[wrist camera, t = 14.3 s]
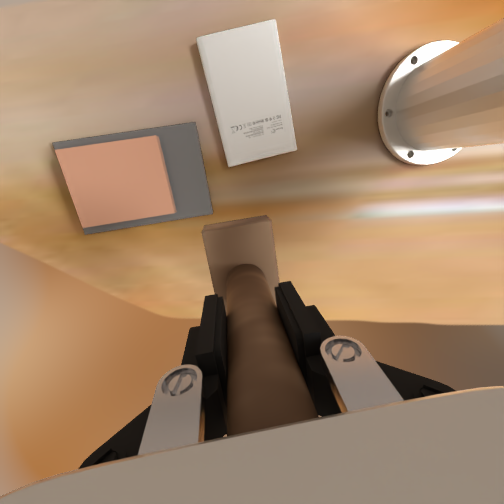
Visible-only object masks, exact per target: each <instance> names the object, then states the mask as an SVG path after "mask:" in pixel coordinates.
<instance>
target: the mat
mask: <svg viewBox="0 0 504 504" xmlns="http://www.w3.org/2000/svg"><path fill="white" fill-rule="evenodd" d="M154 135H156V136H158V137H159V140H160V144H161V148H162V152H163V157H164V161H165V165H166V169H167V173H168V178H169V182H170V186H171V190H172V194H173V199H174V203H175V207H176V211H177V212H176V213H172V214H166V215H160V216H154V217H148V218H142V219H136V220H129V221H123V222H117V223H111V224H105V225H99V226H93V227H86V228H83V230H84V233H85V235H86V234H92V233H98V232H105V231H111V230H117V229H123V228H129V227H135V226H142V225H148V224H154V223H160V222H166V221H172V220H178V219H185V218H191V217H197V216H203V215H209V214H213V209H212V204H211V199H210V194H209V189H208V184H207V179H206V173H205V168H204V163H203V158H202V153H201V148H200V143H199V137H198V132H197V127H196V123H195V122H191V123H185V124H178V125H171V126H164V127H157V128H150V129H143V130H136V131H129V132H122V133H116V134H109V135H102V136H95V137H88V138H81V139H74V140H67V141H60V142H53V143H52V144H53V146H54V149H55V150H57V149H64V148H71V147H78V146H85V145H92V144H99V143H106V142H113V141H120V140H127V139H134V138H141V137H148V136H154Z"/></svg>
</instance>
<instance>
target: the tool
mask: <svg viewBox="0 0 504 504" xmlns="http://www.w3.org/2000/svg"><path fill="white" fill-rule="evenodd" d="M202 237H203V241H204V246H205V251H206V255H207V260H208V264H209V269H210V274H211V278H212V283H213V288H214V292H215V294H218V297H221V296H222V297H223V300H224V305H225V310H226V315H227V436H231V435H236V434H241V433H246V432H251V431H256V430H260V429H265V428H270V427H275V426H280V425H285V424H290V423H295V422H299V421H304V420H309V419H314V418H319V417H318V414H317V411H316V409H315V406H314V403H313V401H312V398H311V396H310V393H309V390H308V388H307V385H306V382H305V380H304V377H303V375H302V372H301V369H300V367H299V365H298V362H297V359H296V357H295V354H294V352H293V349H292V346H291V344H290V341H289V338H288V336H287V333H286V330H285V328H284V325H283V322H282V320H281V317H280V315H279V312H278V309H277V304H276V297H275V287H277V286H278V283H279V276H278V268H277V260H276V252H275V244H274V237H273V229H272V221H271V220H270V219H269V217H268V216H267V215H264V216H258V217H252V218H246V219H240V220H234V221H228V222H222V223H216V224H210V225H204V228H203V230H202Z"/></svg>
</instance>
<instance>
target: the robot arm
mask: <svg viewBox="0 0 504 504" xmlns="http://www.w3.org/2000/svg"><path fill="white" fill-rule="evenodd" d="M385 113H386V115H385ZM378 125H379V131H380V134H381V137H382V140H383V142H384V144H385V146H386V147H387V149H388V150H389V151H390V152H391V153H392V155H394V156H395V157H396V158H398V159H399V160H401V161H403V162H405V163H408V164H413V165H429V164H436V163H439V162H441V161H444V160H446V159H448V158H450V157H451V156H453V155H455V154H456V153H457V152H458V151H459V150H461V149H462V148H463V147H473V146H482V145H491V144H500V143H504V18H503V19H501V20H499V21H497V22H496V23H494V24H492V25H490V26H488V27H487V28H485V29H483V30H481V31H480V32H478V33H476V34H474V35H472V36H471V37H469V38H467V39H465V40H463V41H462V42H460V43H459V42H455V41H451V40H439V41H435V42H431V43H428V44H426V45H423V46H421V47H419V48H418V49H416V50H415V51H413V52H412V53H410V54H409V55H407V56H406V57H405V58H404V59H403V60H402V61H401V62H399V63H398V65H397V66H396V67H395V69H394V70H393V71H392V72H391V74H390V76H389V77H388V79H387V81H386V83H385V85H384V88H383V90H382V93H381V96H380V101H379V106H378ZM275 297H276V304H277V309H278V312H279V315H280V317H281V320H282V322H283V325H284V328H285V330H286V333H287V336H288V338H289V341H290V344H291V346H292V349H293V352H294V354H295V357H296V359H297V362H298V365H299V367H300V369H301V372H302V375H303V377H304V380H305V382H306V385H307V388H308V390H309V393H310V396H311V398H312V401H313V403H314V406H315V409H316V411H317V414H318V415H320V416H322V417H319V418H314V419H309V420H304V421H299V422H295V423H290V424H285V425H280V426H275V427H270V428H265V429H260V430H256V431H251V432H246V433H241V434H236V435H231V436H227V437H223V436H224V435H225V434H227V315H226V310H225V305H224V300H223V297H222V296H221V297H218V294H215V295H209V296H205V300H204V306H203V312H202V318H201V324H200V326H198V327H192V328H190V330H189V334H188V339H187V342H186V347H185V351H184V355H183V360H182V364H181V366H178V367H175V368H174V369H172V370H170V371H168V372H167V373H166V374H165V375H163V377H162V378H161V379H160V380H159V382H158V384H157V387H156V390H155V394H154V398H153V402H152V405H150V406H149V407H148V408H146V409H145V410H144V411H143V412H142V413H141V414H139V415H138V416H137V417H136V418H134V419H133V420H132V421H131V422H130V423H128V424H127V425H126V426H125V427H123V428H122V429H121V430H120V431H119V432H117V433H116V434H115V435H114V436H113V437H111V438H110V439H109V440H108V441H107V442H106V443H104V444H103V445H102V446H100V447H99V448H98V449H97V450H96V451H94V452H93V453H92V454H91V455H90V456H89V457H88V458H87V459H86V460H85V461H84V462H83V463H82V465H81V466H80V468H79V469H77V470H73V471H69V472H65V473H61V474H58V475H55V476H51V477H48V478H45V479H42V480H39V481H36V482H33V483H30V484H28V485H26V486H23V487H21V488H19V489H17V490H14V491H11V492H9V493H7V494H5V495H2V496H0V504H504V386H495V387H482V388H475V389H468V390H462V391H455V390H454V389H452V388H451V387H449V386H447V385H444V384H442V383H440V382H437V381H434V380H431V379H428V378H425V377H422V376H419V375H416V374H413V373H410V372H407V371H404V370H401V369H398V368H395V367H392V366H389V365H386V364H383V363H380V362H377V361H375V360H374V359H373V357H372V356H371V354H370V353H369V352H368V350H367V349H366V347H365V346H364V345H363V344H362V343H361V342H360V341H358V340H356V339H354V338H351V337H348V336H335V335H334V333H333V332H332V330H331V329H330V327H329V326H328V324H327V323H326V321H325V320H324V318H323V317H322V315H321V314H320V312H319V311H318V309H317V308H316V306H315V305H312V306H305V305H304V303H303V301H302V300H301V298H300V296H299V295H298V293H297V291H296V290H295V288H294V286H293V285H292V283H291V281H288V282H282V283H278V286H277V287H275Z"/></svg>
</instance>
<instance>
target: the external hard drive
mask: <svg viewBox="0 0 504 504" xmlns="http://www.w3.org/2000/svg"><path fill="white" fill-rule="evenodd" d="M196 41H197V46H198V50H199V54H200V57H201V61H202V65H203V69H204V73H205V77H206V81H207V85H208V89H209V93H210V97H211V101H212V104H213V109H214V113H215V116H216V120H217V124H218V128H219V132H220V136H221V140H222V144H223V148H224V152H225V156H226V160H227V164H228V167H232V166H235V165H239V164H243V163H247V162H251V161H255V160H259V159H263V158H267V157H271V156H275V155H280V154H284V153H288V152H292V151H296V150H297V146H296V140H295V133H294V127H293V121H292V114H291V108H290V102H289V96H288V90H287V84H286V78H285V72H284V66H283V60H282V54H281V48H280V43H279V36H278V30H277V24H276V20H275V19H274V20H268V21H263V22H259V23H255V24H251V25H247V26H242V27H238V28H234V29H229V30H225V31H221V32H216V33H212V34H208V35H204V36H201V37H197V38H196Z"/></svg>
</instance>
